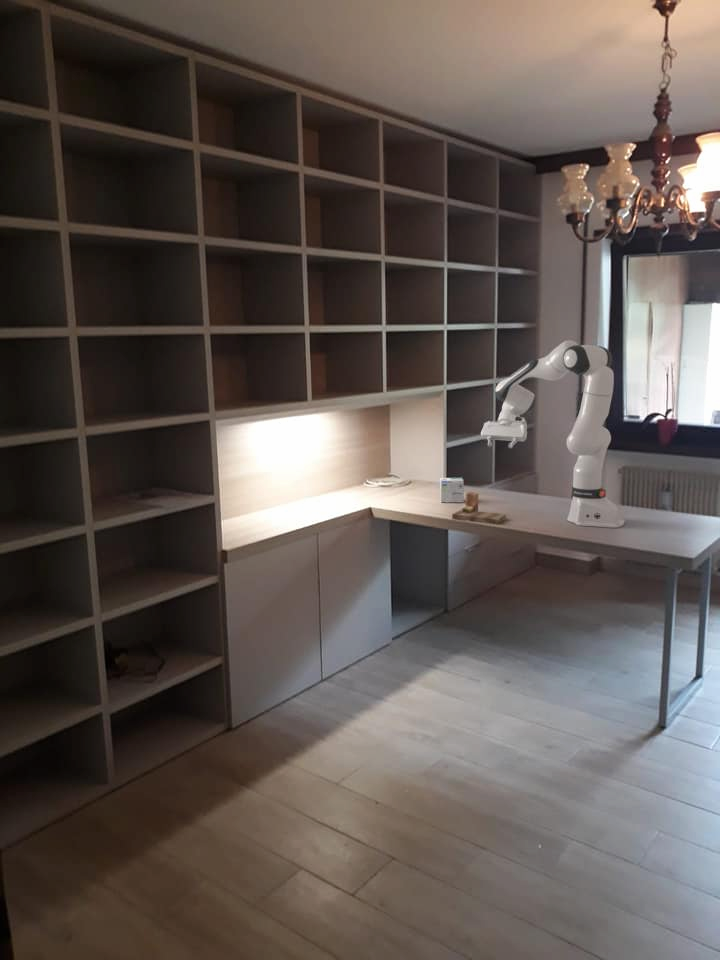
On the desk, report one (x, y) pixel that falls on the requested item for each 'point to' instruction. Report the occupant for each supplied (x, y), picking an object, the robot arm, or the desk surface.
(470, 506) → the brown l-shaped block
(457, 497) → the light bulb box
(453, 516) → the plank
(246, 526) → the desk surface
